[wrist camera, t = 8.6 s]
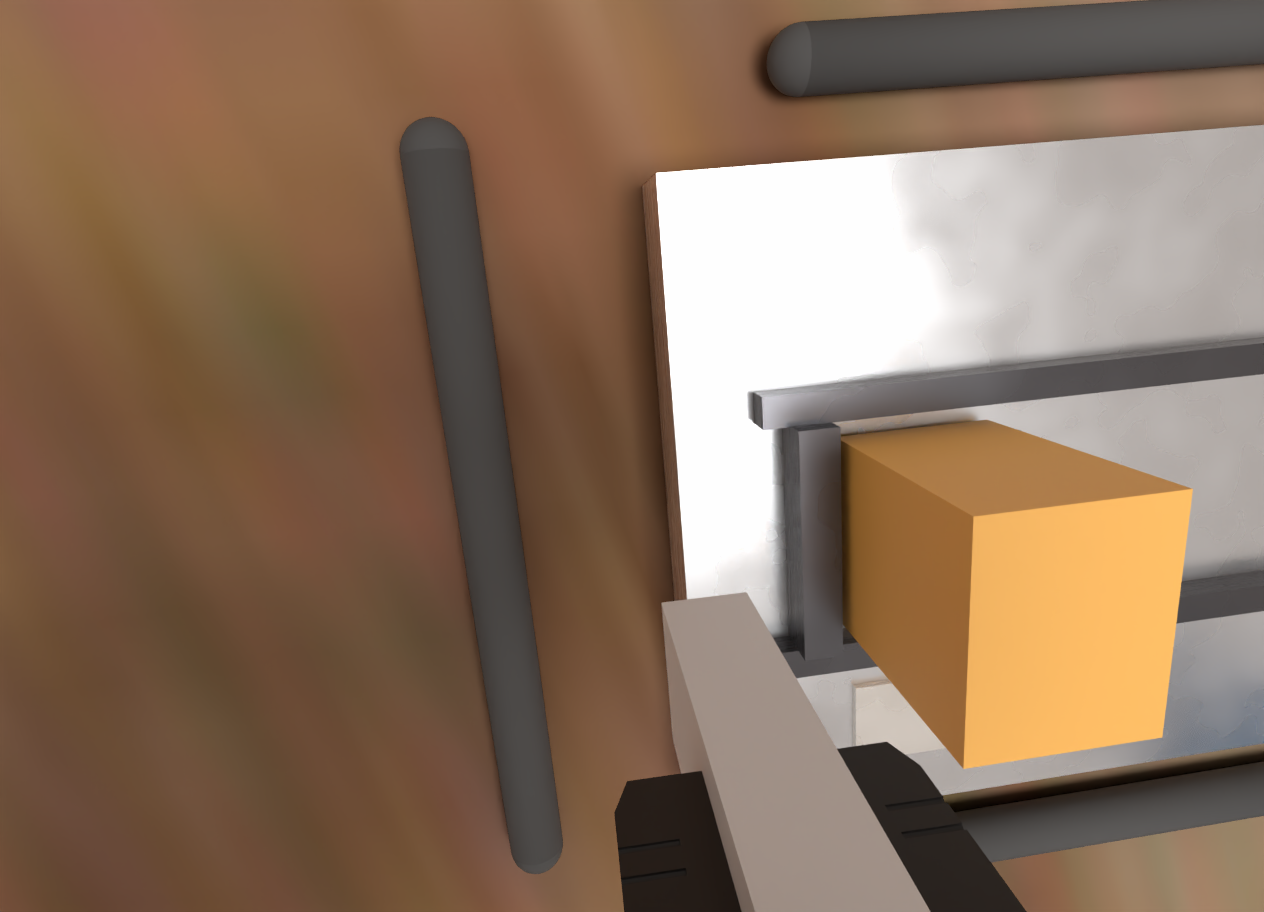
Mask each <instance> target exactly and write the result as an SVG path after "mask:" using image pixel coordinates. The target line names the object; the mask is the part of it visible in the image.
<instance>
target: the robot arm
mask: <svg viewBox="0 0 1264 912" xmlns="http://www.w3.org/2000/svg"><path fill="white" fill-rule="evenodd" d="M661 604H662V616H663V628H664V640H665V652H666V664H667V676H668V688H669V701H670V713H671V725H672V737H673V742H674V746H675V750H676V754H677V759H678V763H679V767H680V771H681V774H675V775H668V776H661V777H654V778H647V779H640V780H633V781H627V783H626V786H625V788H624V791H623V793H622V796H621V798H620V801H619V803H618V805H617V808H616V810H615V823H616V833H617V843H618V852H619V862H620V872H621V882H622V892H623V902H624V912H1026V910H1025V909H1024V908H1023V906H1022V905H1021V904H1020V902H1019V901H1018V899H1017V898H1016V897H1015V895H1014V894H1013V892H1012V891H1011V890H1010V888H1009V887H1008V886H1007V884H1006V883H1005V881H1004V880H1003V879H1002V877H1001V876H1000V875H999V873H998V872H997V870H996V869H995V868H994V866H993V865H992V863H991V862H990V861H989V859H988V858H987V857H986V855H985V854H984V852H983V851H982V850H981V848H980V847H979V845H978V844H977V843H976V841H975V840H974V839H973V837H972V836H971V834H970V833H969V832H968V830H964V828H963V826H962V822H961V821H960V819H959V818H958V816H957V815H956V814H955V812H954V811H953V810H952V808H951V807H950V805H949V804H948V803H945V802H944V800H943V796H942V794H941V793H940V792H939V790H938V789H937V787H936V786H935V785H934V783H933V782H932V781H931V779H930V778H929V776H928V775H927V774H926V772H925V771H924V770H923V768H922V767H921V765H919V764H918V763H916V762H915V761H914V760H912V759H911V758H909V757H908V756H907V755H905V754H904V753H902V752H901V751H899V750H898V749H897V748H895V747H894V746H892V745H891V744H890V743H888V742H881V743H874V744H867V745H860V746H853V747H846V748H839V749H837V748H836V747H835V745H834V743H833V741H832V740H831V738H830V736H829V734H828V733H827V731H826V729H825V727H824V726H823V724H822V722H821V720H820V719H819V717H818V715H817V714H816V712H815V710H814V708H813V707H812V705H811V703H810V701H809V700H808V698H807V696H806V694H805V693H804V691H803V689H802V687H801V686H800V684H799V682H798V680H797V679H796V677H795V675H794V674H793V672H792V670H791V668H790V667H789V665H788V663H787V661H786V660H785V658H784V656H783V654H782V653H781V651H780V649H779V647H778V646H777V644H776V642H775V641H774V639H773V637H772V635H771V634H770V632H769V630H768V628H767V627H766V625H765V623H764V621H763V620H762V618H761V616H760V614H759V613H758V611H757V609H756V607H755V606H754V604H753V602H752V601H751V599H750V597H749V595H748V594H747V592H743V593H735V594H727V595H719V596H711V597H703V598H695V599H687V600H679V601H671V602H663V603H661Z"/></svg>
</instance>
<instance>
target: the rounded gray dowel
mask: <svg viewBox="0 0 1264 912" xmlns="http://www.w3.org/2000/svg"><path fill="white" fill-rule="evenodd" d="M400 159H401V165H402V171H403V178H404V184H405V190H406V196H407V203H408V209H409V215H410V221H411V228H412V234H413V240H414V246H415V253H416V259H417V265H418V271H419V278H420V284H421V290H422V296H423V303H424V309H425V315H426V321H427V328H428V334H429V340H430V346H431V353H432V359H433V365H434V371H435V378H436V384H437V390H438V397H439V403H440V409H441V415H442V422H443V428H444V434H445V440H446V447H447V453H448V459H449V465H450V472H451V478H452V484H453V490H454V497H455V503H456V509H457V515H458V522H459V528H460V534H461V540H462V547H463V553H464V559H465V565H466V572H467V578H468V584H469V590H470V597H471V603H472V609H473V615H474V622H475V628H476V634H477V640H478V647H479V653H480V659H481V666H482V672H483V678H484V684H485V691H486V697H487V703H488V709H489V716H490V722H491V728H492V734H493V741H494V747H495V753H496V759H497V766H498V772H499V778H500V784H501V791H502V797H503V803H504V809H505V816H506V822H507V828H508V834H509V841H510V847H511V853H512V856H513V859H514V861H515V863H516V864H517V866H518V867H520V868H521V869H522V870H523V871H525V872H527V873H531V874H540V873H543V872H546V871H548V870H549V869H550V868H552V867H553V866H554V865H555V864H556V862H557V861H558V859H559V857H560V855H561V852H562V847H563V839H562V831H561V824H560V816H559V809H558V802H557V794H556V787H555V780H554V772H553V765H552V758H551V750H550V743H549V736H548V728H547V721H546V714H545V706H544V699H543V692H542V684H541V677H540V670H539V662H538V655H537V648H536V640H535V633H534V626H533V618H532V611H531V604H530V596H529V589H528V582H527V574H526V567H525V560H524V552H523V545H522V538H521V530H520V523H519V516H518V508H517V501H516V494H515V486H514V479H513V472H512V464H511V457H510V449H509V442H508V435H507V427H506V420H505V413H504V405H503V398H502V391H501V383H500V376H499V369H498V361H497V354H496V347H495V339H494V332H493V325H492V317H491V310H490V303H489V295H488V288H487V281H486V273H485V266H484V259H483V251H482V244H481V237H480V229H479V222H478V215H477V207H476V200H475V193H474V185H473V178H472V171H471V163H470V156H469V150H468V146H467V143H466V141H465V138H464V137H463V135H462V134H461V132H460V131H459V130H458V129H457V128H456V127H455V126H454V125H452V124H451V123H449V122H448V121H445V120H443V119H440V118H435V117H426V118H422V119H419V120H417V121H415V122H414V123H412V124H411V125H410V126H409V127H408V128H407V129H406V131H405V132H404V134H403V136H402V139H401V142H400Z"/></svg>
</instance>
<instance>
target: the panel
mask: <svg viewBox="0 0 1264 912" xmlns="http://www.w3.org/2000/svg"><path fill="white" fill-rule="evenodd" d="M642 193H643V206H644V219H645V231H646V244H647V257H648V270H649V282H650V295H651V308H652V321H653V333H654V346H655V359H656V372H657V384H658V397H659V410H660V423H661V435H662V448H663V461H664V474H665V486H666V499H667V512H668V525H669V537H670V550H671V563H672V576H673V588H674V601H679V600H687V599H695V598H703V597H711V596H719V595H727V594H735V593H743V592H747V594H748V595H749V597H750V599H751V601H752V602H753V604H754V606H755V607H756V609H757V611H758V613H759V614H760V616H761V618H762V620H763V621H764V623H765V625H766V627H767V628H768V630H769V632H770V634H771V635H772V637H773V639H774V641H775V642H776V644H777V646H778V647H779V649H780V651H781V653H782V654H783V656H784V658H785V660H786V661H787V663H788V665H789V667H790V668H791V670H792V672H793V674H794V675H795V677H796V679H797V680H798V682H799V684H800V686H801V687H802V689H803V691H804V693H805V694H806V696H807V698H808V700H809V701H810V703H811V705H812V707H813V708H814V710H815V712H816V714H817V715H818V717H819V719H820V720H821V722H822V724H823V726H824V727H825V729H826V731H827V733H828V734H829V736H830V738H831V740H832V741H833V743H834V745H835V747H836V748H837V749H839V748H846V747H853V746H860V745H867V744H874V743H881V742H888V743H890V744H891V745H892V746H894V747H895V748H897V749H898V750H899V751H901V752H902V753H904V754H905V755H907V756H908V757H909V758H911V759H912V760H914V761H915V762H916V763H918V764H919V765H921V767H922V768H923V770H924V771H925V772H926V774H927V775H928V776H929V778H930V779H931V781H932V782H933V783H934V785H935V786H936V787H937V789H938V790H939V792H940V793H941V794H942V795H947V794H953V793H959V792H965V791H972V790H978V789H984V788H990V787H996V786H1003V785H1009V784H1015V783H1021V782H1027V781H1034V780H1040V779H1046V778H1052V777H1058V776H1064V775H1071V774H1077V773H1083V772H1089V771H1095V770H1102V769H1108V768H1114V767H1120V766H1126V765H1133V764H1139V763H1145V762H1151V761H1157V760H1163V759H1170V758H1176V757H1182V756H1188V755H1194V754H1201V753H1207V752H1213V751H1219V750H1225V749H1232V748H1238V747H1244V746H1250V745H1256V744H1262V743H1264V125H1257V126H1244V127H1232V128H1219V129H1206V130H1194V131H1181V132H1169V133H1156V134H1143V135H1131V136H1118V137H1105V138H1093V139H1080V140H1068V141H1055V142H1042V143H1030V144H1017V145H1005V146H992V147H979V148H967V149H954V150H941V151H929V152H916V153H904V154H891V155H878V156H866V157H853V158H841V159H828V160H815V161H803V162H790V163H777V164H765V165H752V166H740V167H727V168H714V169H702V170H689V171H676V172H664V173H656V174H654V175H653V176H652V177H651V178H650V179H649V180H648V181H647V182H646V183H645V184H644V185H643V186H642ZM979 420H990V421H993V422H996V423H999V424H1002V425H1005V426H1008V427H1011V428H1014V429H1017V430H1020V431H1023V432H1026V433H1029V434H1032V435H1035V436H1038V437H1040V438H1043V439H1046V440H1049V441H1052V442H1055V443H1058V444H1061V445H1064V446H1067V447H1070V448H1073V449H1076V450H1079V451H1082V452H1085V453H1088V454H1091V455H1094V456H1097V457H1100V458H1103V459H1106V460H1109V461H1112V462H1115V463H1118V464H1121V465H1124V466H1127V467H1130V468H1132V469H1135V470H1138V471H1141V472H1144V473H1147V474H1150V475H1153V476H1156V477H1159V478H1162V479H1165V480H1168V481H1171V482H1174V483H1177V484H1180V485H1183V486H1186V487H1189V488H1192V489H1193V493H1192V501H1191V509H1190V517H1189V525H1188V533H1187V541H1186V550H1185V558H1184V566H1183V574H1182V582H1181V590H1180V598H1179V606H1178V614H1177V622H1176V630H1175V639H1174V647H1173V655H1172V663H1171V671H1170V679H1169V687H1168V695H1167V703H1166V711H1165V719H1164V728H1163V736H1162V738H1156V739H1150V740H1143V741H1137V742H1131V743H1124V744H1118V745H1112V746H1106V747H1099V748H1093V749H1087V750H1080V751H1074V752H1068V753H1061V754H1055V755H1049V756H1043V757H1036V758H1030V759H1024V760H1017V761H1011V762H1005V763H998V764H992V765H986V766H980V767H973V768H967V769H963V768H962V767H961V765H960V764H959V763H958V762H957V761H956V759H955V758H954V757H953V756H952V755H951V753H950V752H949V751H948V750H947V749H946V747H945V746H944V745H943V744H942V743H941V742H940V740H939V739H938V738H937V737H936V736H935V734H934V733H933V732H932V731H931V730H930V728H929V727H928V726H927V725H926V724H925V722H924V721H923V720H922V719H921V718H920V716H919V715H918V714H917V713H916V712H915V710H914V709H913V708H912V707H911V706H910V704H909V703H908V702H907V701H906V700H905V698H904V697H903V696H902V695H901V694H900V692H899V691H898V690H897V689H896V688H895V686H894V685H893V684H892V683H891V682H890V680H889V679H888V678H887V677H886V676H885V674H884V673H883V672H882V671H881V670H880V668H879V667H878V666H877V665H876V664H875V662H874V661H873V660H872V659H871V658H870V656H869V655H868V654H867V653H866V652H865V650H864V649H863V648H862V647H861V646H860V644H859V643H858V642H857V641H856V640H855V638H854V637H853V636H852V635H851V634H850V632H849V631H848V630H847V629H846V628H845V626H844V625H843V604H842V514H841V436H848V435H857V434H865V433H874V432H883V431H892V430H900V429H909V428H918V427H927V426H935V425H944V424H953V423H962V422H970V421H979Z"/></svg>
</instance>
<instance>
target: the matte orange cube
mask: <svg viewBox="0 0 1264 912" xmlns="http://www.w3.org/2000/svg"><path fill="white" fill-rule="evenodd" d="M1192 493H1193V489H1192V488H1189V487H1186V486H1183V485H1180V484H1177V483H1174V482H1171V481H1168V480H1165V479H1162V478H1159V477H1156V476H1153V475H1150V474H1147V473H1144V472H1141V471H1138V470H1135V469H1132V468H1130V467H1127V466H1124V465H1121V464H1118V463H1115V462H1112V461H1109V460H1106V459H1103V458H1100V457H1097V456H1094V455H1091V454H1088V453H1085V452H1082V451H1079V450H1076V449H1073V448H1070V447H1067V446H1064V445H1061V444H1058V443H1055V442H1052V441H1049V440H1046V439H1043V438H1040V437H1038V436H1035V435H1032V434H1029V433H1026V432H1023V431H1020V430H1017V429H1014V428H1011V427H1008V426H1005V425H1002V424H999V423H996V422H993V421H990V420H979V421H970V422H962V423H953V424H944V425H935V426H927V427H918V428H909V429H900V430H892V431H883V432H874V433H865V434H857V435H848V436H841V514H842V604H843V625H844V626H845V628H846V629H847V630H848V631H849V632H850V634H851V635H852V636H853V637H854V638H855V640H856V641H857V642H858V643H859V644H860V646H861V647H862V648H863V649H864V650H865V652H866V653H867V654H868V655H869V656H870V658H871V659H872V660H873V661H874V662H875V664H876V665H877V666H878V667H879V668H880V670H881V671H882V672H883V673H884V674H885V676H886V677H887V678H888V679H889V680H890V682H891V683H892V684H893V685H894V686H895V688H896V689H897V690H898V691H899V692H900V694H901V695H902V696H903V697H904V698H905V700H906V701H907V702H908V703H909V704H910V706H911V707H912V708H913V709H914V710H915V712H916V713H917V714H918V715H919V716H920V718H921V719H922V720H923V721H924V722H925V724H926V725H927V726H928V727H929V728H930V730H931V731H932V732H933V733H934V734H935V736H936V737H937V738H938V739H939V740H940V742H941V743H942V744H943V745H944V746H945V747H946V749H947V750H948V751H949V752H950V753H951V755H952V756H953V757H954V758H955V759H956V761H957V762H958V763H959V764H960V765H961V767H962V768H963V769H967V768H973V767H980V766H986V765H992V764H998V763H1005V762H1011V761H1017V760H1024V759H1030V758H1036V757H1043V756H1049V755H1055V754H1061V753H1068V752H1074V751H1080V750H1087V749H1093V748H1099V747H1106V746H1112V745H1118V744H1124V743H1131V742H1137V741H1143V740H1150V739H1156V738H1162V736H1163V728H1164V719H1165V711H1166V703H1167V695H1168V687H1169V679H1170V671H1171V663H1172V655H1173V647H1174V639H1175V630H1176V622H1177V614H1178V606H1179V598H1180V590H1181V582H1182V574H1183V566H1184V558H1185V550H1186V541H1187V533H1188V525H1189V517H1190V509H1191V501H1192Z"/></svg>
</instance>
